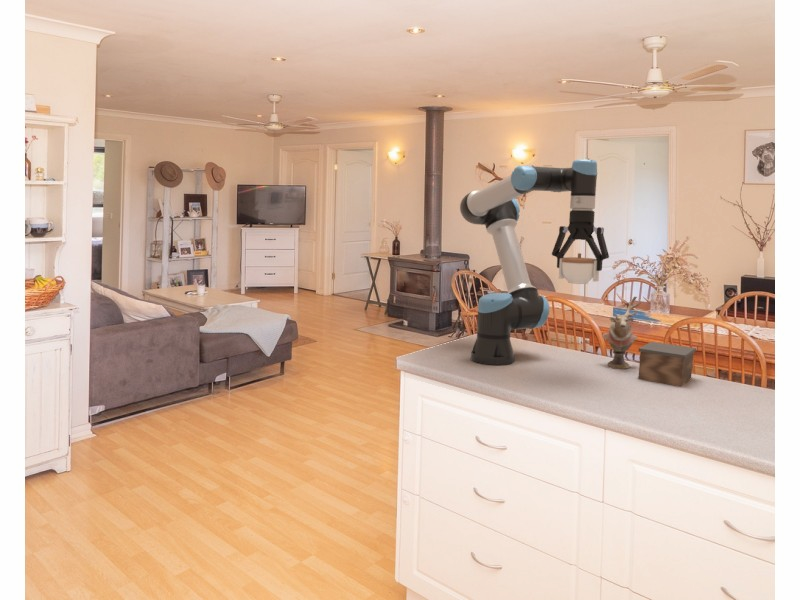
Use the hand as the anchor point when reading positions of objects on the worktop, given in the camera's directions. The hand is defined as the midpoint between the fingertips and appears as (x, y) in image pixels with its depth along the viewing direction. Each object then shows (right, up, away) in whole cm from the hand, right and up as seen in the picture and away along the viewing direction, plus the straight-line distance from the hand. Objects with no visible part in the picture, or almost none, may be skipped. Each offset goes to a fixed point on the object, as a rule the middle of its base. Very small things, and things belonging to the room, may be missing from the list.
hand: (578, 279), depth 202 cm
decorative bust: (+18, -30, +17) cm, 39 cm away
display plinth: (+29, -32, +4) cm, 43 cm away
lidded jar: (0, -1, 0) cm, 1 cm away
